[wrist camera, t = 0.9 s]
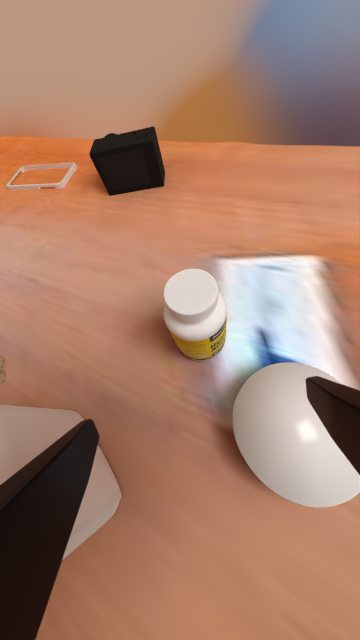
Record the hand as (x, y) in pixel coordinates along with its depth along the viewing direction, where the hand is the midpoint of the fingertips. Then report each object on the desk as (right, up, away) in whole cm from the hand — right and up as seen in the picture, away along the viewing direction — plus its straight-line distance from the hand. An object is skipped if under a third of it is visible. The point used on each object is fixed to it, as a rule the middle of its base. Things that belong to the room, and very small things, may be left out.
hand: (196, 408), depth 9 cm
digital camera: (-8, +29, +31) cm, 43 cm away
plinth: (+9, -6, +10) cm, 15 cm away
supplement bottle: (+2, +1, +15) cm, 16 cm away
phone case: (-31, +34, +38) cm, 60 cm away
